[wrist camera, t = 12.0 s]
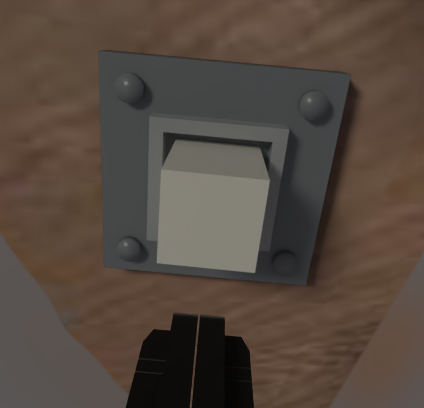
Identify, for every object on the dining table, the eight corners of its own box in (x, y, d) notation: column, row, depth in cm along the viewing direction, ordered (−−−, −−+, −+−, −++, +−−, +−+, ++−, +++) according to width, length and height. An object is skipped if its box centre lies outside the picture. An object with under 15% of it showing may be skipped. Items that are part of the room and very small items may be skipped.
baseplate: (106, 50, 23) (91, 51, 21) (343, 72, 23) (357, 76, 21) (110, 256, 29) (99, 276, 26) (301, 273, 29) (309, 296, 26)
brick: (176, 138, 23) (160, 169, 18) (259, 146, 24) (269, 180, 18) (171, 214, 25) (156, 263, 20) (248, 221, 25) (255, 273, 20)
